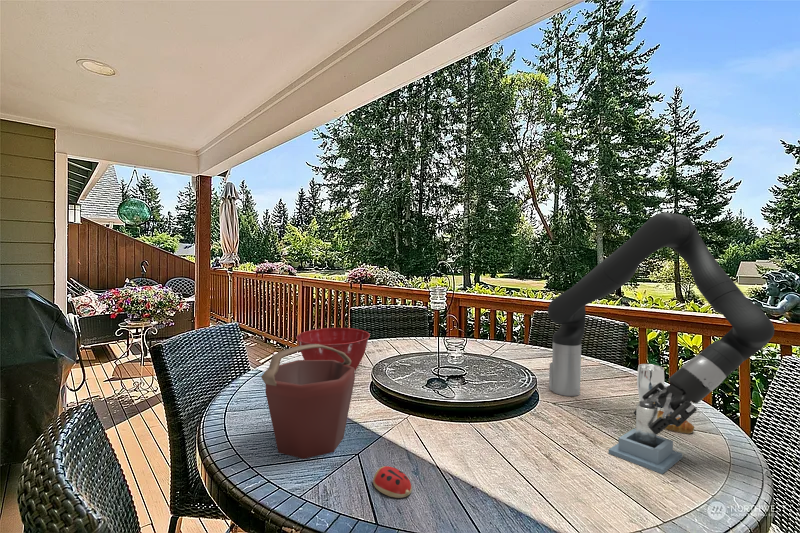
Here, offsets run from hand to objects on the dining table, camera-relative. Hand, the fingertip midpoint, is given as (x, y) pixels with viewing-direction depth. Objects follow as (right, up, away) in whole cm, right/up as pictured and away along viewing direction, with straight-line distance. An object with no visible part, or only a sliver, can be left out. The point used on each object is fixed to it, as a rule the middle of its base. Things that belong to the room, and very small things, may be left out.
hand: (644, 423), depth 102 cm
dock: (+1, -8, 0) cm, 8 cm away
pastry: (+17, -8, +17) cm, 25 cm away
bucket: (-83, -7, +7) cm, 83 cm away
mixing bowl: (-85, -4, +65) cm, 107 cm away
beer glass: (+15, -7, +24) cm, 29 cm away
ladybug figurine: (-61, -9, -13) cm, 63 cm away
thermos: (+1, -7, 0) cm, 7 cm away
